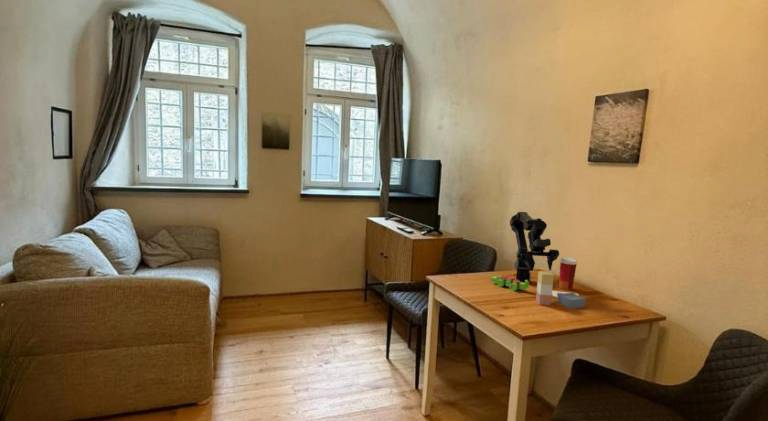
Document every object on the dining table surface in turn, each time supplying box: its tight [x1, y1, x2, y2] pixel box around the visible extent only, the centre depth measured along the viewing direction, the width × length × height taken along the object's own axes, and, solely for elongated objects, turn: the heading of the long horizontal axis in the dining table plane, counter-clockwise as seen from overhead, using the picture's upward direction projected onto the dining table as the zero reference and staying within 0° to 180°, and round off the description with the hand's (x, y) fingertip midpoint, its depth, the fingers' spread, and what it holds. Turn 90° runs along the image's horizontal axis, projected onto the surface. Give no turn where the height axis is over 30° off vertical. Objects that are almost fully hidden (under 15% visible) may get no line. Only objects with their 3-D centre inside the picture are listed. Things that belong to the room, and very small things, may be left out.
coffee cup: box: [558, 257, 578, 291], centre depth 210 cm, size 8×8×15 cm
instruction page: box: [552, 290, 580, 298], centre depth 200 cm, size 12×9×1 cm
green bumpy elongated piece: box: [490, 274, 530, 292], centre depth 208 cm, size 20×7×6 cm, turn 42°
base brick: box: [556, 292, 586, 309], centre depth 188 cm, size 8×8×4 cm
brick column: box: [535, 270, 555, 306], centre depth 187 cm, size 5×5×14 cm
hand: (540, 269), depth 194 cm, fingers open, 9 cm apart
